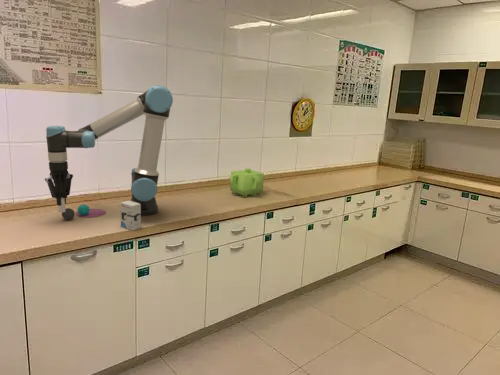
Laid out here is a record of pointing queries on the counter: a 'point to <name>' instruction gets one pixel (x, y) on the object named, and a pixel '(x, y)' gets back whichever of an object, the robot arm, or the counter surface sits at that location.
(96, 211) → the plum mark
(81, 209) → the teal ball
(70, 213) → the black ball
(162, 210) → the counter surface
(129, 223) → the ink box
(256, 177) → the green ribbed block
